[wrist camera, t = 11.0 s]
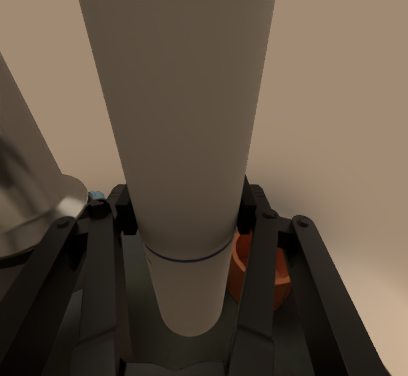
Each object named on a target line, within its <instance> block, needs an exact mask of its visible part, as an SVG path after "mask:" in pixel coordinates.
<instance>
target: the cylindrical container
mask: <svg viewBox="0 0 408 376" xmlns="http://www.w3.org/2000/svg"><path fill="white" fill-rule="evenodd" d="M79 2H80V6H81V10H82V14H83V18H84V21H85V25H86V29H87V33H88V37H89V41H90V45H91V48H92V52H93V56H94V60H95V64H96V68H97V71H98V75H99V79H100V83H101V87H102V91H103V95H104V98H105V102H106V106H107V110H108V114H109V118H110V121H111V125H112V129H113V133H114V137H115V141H116V144H117V148H118V152H119V156H120V159H121V163H122V167H123V171H124V175H125V179H126V183H127V187H128V191H129V194H130V198H131V202H132V206H133V210H134V214H135V217H136V221H137V225H138V229H139V233H140V237H141V240H142V244H143V248H144V252H145V256H146V260H147V264H148V267H149V271H150V275H151V279H152V283H153V287H154V290H155V294H156V298H157V302H158V306H159V310H160V313H161V316H162V319H163V321H164V322H165V324H166V325H167V326H168V327H169V329H170V330H172V331H173V332H175V333H177V334H179V335H182V336H188V337H190V336H198V335H200V334H203V333H205V332H206V331H208V330H210V329H211V328H212V327H213V326H214V325H215V323H216V322H217V320H218V319H219V316H220V314H221V311H222V307H223V301H224V295H225V289H226V283H227V277H228V271H229V265H230V259H231V254H232V248H233V242H234V237H235V231H236V225H237V219H238V213H239V207H240V201H241V195H242V189H243V183H244V177H245V171H246V166H247V160H248V153H249V148H250V142H251V136H252V130H253V124H254V119H255V113H256V107H257V101H258V95H259V90H260V84H261V78H262V72H263V66H264V60H265V55H266V49H267V44H268V37H269V32H270V26H271V20H272V15H273V9H274V3H275V0H79Z"/></svg>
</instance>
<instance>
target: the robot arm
mask: <svg viewBox="0 0 408 376" xmlns="http://www.w3.org/2000/svg"><path fill="white" fill-rule="evenodd" d="M237 227H238V232H239V235H250V232H251V231H252V234H253V235H252V239H251V242H250V249H249V254H248V259H247V264H246V269H245V274H244V279H243V284H242V289H241V294H240V299H239V304H238V309H237V314H236V319H235V324H234V329H233V334H232V339H231V344H230V349H229V353H228V358H227V362H226V367H225V366H224V361H200V362H197V363H194V364H192V365H189V366H186V367H184V368H181V369H179V370H171V369H168V368H165V367H162V366H159V365H156V364H153V363H134V358H133V353H132V349H131V340H130V328H129V317H128V305H127V294H126V282H125V271H124V259H123V248H122V238H121V236H120V235H121V232H122V230H123V233H124V235H136V232H137V229H138V225H137V221H136V217H135V214H134V210H133V206H132V202H131V198H130V194H129V191H128V187H127V183H126V184H119V185H117V186H116V187H114V188H113V190H112V191H111V194H110V195H109V196H108V198H107V199H105V198H104V195H103V193H102V192H99V191H96V192H94V191H90V192H88V191H87V189H86V187H85V186H84V184H83V183H82V182H81V181H80V180H78V179H77V178H74V177H72V176H68V175H64V174H62V173H61V171H60V169H59V167H58V165H57V163H56V161H55V159H54V157H53V155H52V154H51V152H50V150H49V148H48V146H47V144H46V142H45V140H44V138H43V136H42V134H41V132H40V130H39V128H38V126H37V124H36V122H35V120H34V118H33V116H32V114H31V112H30V110H29V108H28V106H27V104H26V102H25V100H24V98H23V96H22V94H21V92H20V90H19V88H18V86H17V84H16V82H15V80H14V78H13V76H12V74H11V72H10V71H9V69H8V67H7V65H6V63H5V61H4V59H3V57H2V55H1V53H0V376H41V373H42V370H43V368H44V365H45V363H46V360H47V357H48V355H49V352H50V350H51V347H52V345H53V342H54V339H55V337H56V334H57V332H58V329H59V326H60V324H61V321H62V319H63V316H64V313H65V311H66V308H67V306H68V303H69V301H70V298H71V295H72V293H74V292H76V291H78V290H81V289H83V296H82V308H81V319H80V330H79V339H78V342H77V344H76V345H75V346H74V347H73V349H72V352H71V357H70V365H69V374H68V376H273V372H274V341H273V339H272V328H273V311H274V294H275V277H276V260H277V247H278V248H282V252H283V255H284V259H285V263H286V267H287V271H288V274H289V278H290V282H291V286H292V290H293V293H294V297H295V301H296V305H297V309H298V312H299V316H300V320H301V324H302V328H303V331H304V335H305V339H306V343H307V346H308V350H309V354H310V358H311V362H312V365H313V369H314V373H315V376H388V374H387V372H386V370H385V367H384V365H383V363H382V361H381V359H380V358H379V355H378V353H377V351H376V349H375V347H374V345H373V343H372V341H371V339H370V337H369V335H368V333H367V331H366V329H365V327H364V324H363V322H362V320H361V318H360V316H359V314H358V312H357V310H356V308H355V306H354V304H353V302H352V300H351V298H350V296H349V294H348V292H347V290H346V288H345V285H344V284H343V281H342V279H341V277H340V275H339V273H338V271H337V269H336V267H335V265H334V263H333V261H332V259H331V257H330V255H329V253H328V251H327V248H326V246H325V245H324V242H323V241H322V238H321V236H320V234H319V232H318V230H317V228H316V226H315V224H314V222H313V221H312V220H311V219H309V218H308V217H306V216H302V215H296V216H294V217H293V218H292V220H291V219H287V218H283V217H280V216H279V215H278V213H277V212H276V211H274V210H273V209H271V207H270V205H269V202H268V201H267V198H266V196H265V194H264V191H263V189H262V188H261V187H260V186H259V185H253V184H251V185H250V184H249V183H248V180H247V177H246V175H245V177H244V183H243V189H242V195H241V201H240V207H239V213H238V219H237Z"/></svg>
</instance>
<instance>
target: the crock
mask: <svg viewBox="0 0 408 376" xmlns="http://www.w3.org/2000/svg"><path fill="white" fill-rule="evenodd" d="M252 235H253V234H252V231H251V232H250V235H239V232H237V233H236V234H235V237H234V242H233V248H232V254H231V259H230V265H229V271H228V277H227V287H228V290H229V292H230V294H231V295H232V297H233V298H234V300H235V301H236V302H237V303H238V304H239V299H240V294H241V289H242V284H243V279H244V274H245V269H246V264H247V259H248V254H249V249H250V242H251V239H252ZM291 288H292V286H291V282H290V278H289V274H288V271H287V267H286V263H285V259H284V255H283V252H282V248H278V247H277V260H276V277H275V294H274V311H276V310H277V309H278V308H279V307H281V305H282V304H283V302H284V301H285V299H286V297H287V295H288V293H289V292H290V290H291ZM274 311H273V312H274Z"/></svg>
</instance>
